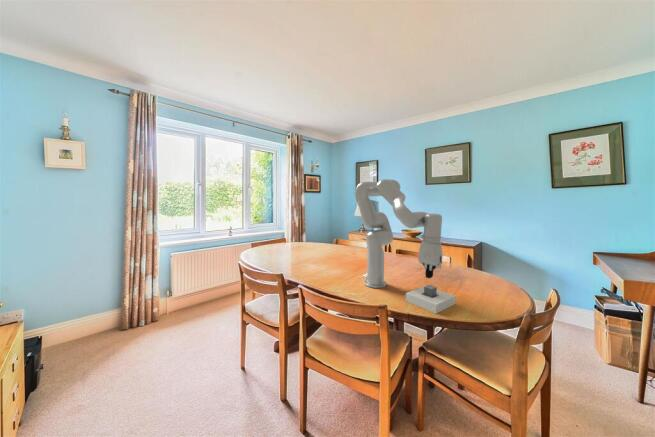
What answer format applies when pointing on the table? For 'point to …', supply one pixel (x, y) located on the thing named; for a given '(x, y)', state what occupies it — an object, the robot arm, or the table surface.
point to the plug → (430, 291)
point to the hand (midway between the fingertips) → (429, 277)
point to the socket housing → (430, 300)
